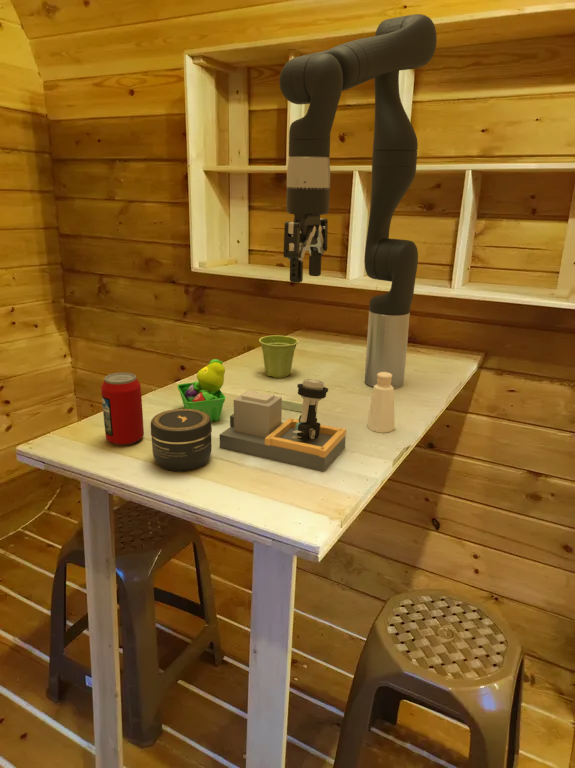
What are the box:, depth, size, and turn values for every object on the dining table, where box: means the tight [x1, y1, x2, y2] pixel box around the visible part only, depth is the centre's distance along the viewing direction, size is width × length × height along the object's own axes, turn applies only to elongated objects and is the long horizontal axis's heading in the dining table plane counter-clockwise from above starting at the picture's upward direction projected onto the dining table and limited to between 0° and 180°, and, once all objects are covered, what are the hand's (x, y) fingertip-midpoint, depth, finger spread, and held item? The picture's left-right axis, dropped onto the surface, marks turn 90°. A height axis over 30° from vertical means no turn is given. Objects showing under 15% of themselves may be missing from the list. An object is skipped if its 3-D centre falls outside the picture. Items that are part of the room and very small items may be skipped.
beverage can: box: [100, 372, 145, 446], centre depth 105 cm, size 7×7×12 cm
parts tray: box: [281, 398, 303, 423], centre depth 117 cm, size 12×12×2 cm
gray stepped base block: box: [219, 390, 347, 472], centre depth 103 cm, size 10×20×9 cm, turn 65°
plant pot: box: [258, 335, 299, 379], centre depth 142 cm, size 9×9×9 cm
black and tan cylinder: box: [292, 378, 329, 440], centre depth 100 cm, size 7×5×10 cm
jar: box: [150, 408, 213, 473], centre depth 98 cm, size 10×10×8 cm
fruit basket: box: [176, 358, 226, 423], centre depth 117 cm, size 11×9×11 cm
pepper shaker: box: [366, 372, 396, 434], centre depth 112 cm, size 5×5×11 cm
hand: (305, 278), depth 107 cm, fingers open, 8 cm apart
